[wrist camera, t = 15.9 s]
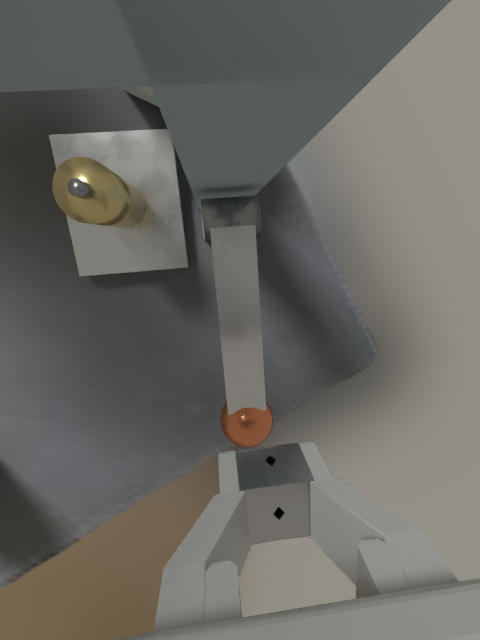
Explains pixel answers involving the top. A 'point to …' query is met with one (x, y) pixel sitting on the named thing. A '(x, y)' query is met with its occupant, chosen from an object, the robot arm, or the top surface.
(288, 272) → the top surface
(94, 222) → the cylinder
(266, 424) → the lever
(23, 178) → the top surface
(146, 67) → the frame
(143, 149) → the press bed
